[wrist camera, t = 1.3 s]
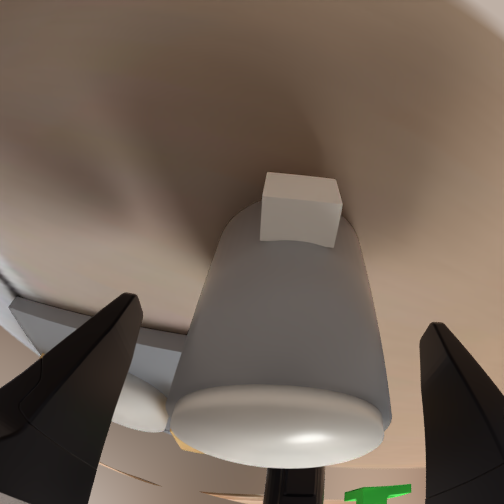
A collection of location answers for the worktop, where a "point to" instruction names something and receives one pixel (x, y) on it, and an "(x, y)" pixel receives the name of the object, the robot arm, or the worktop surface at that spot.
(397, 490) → the mechanical part
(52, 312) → the board
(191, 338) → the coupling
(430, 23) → the worktop surface
